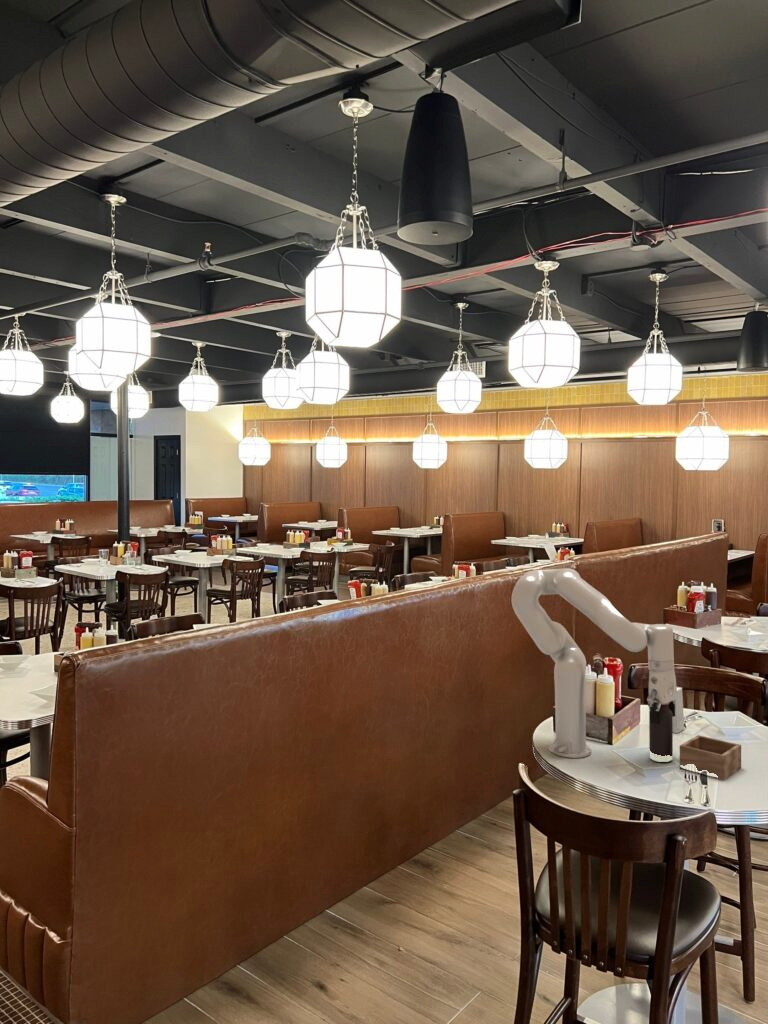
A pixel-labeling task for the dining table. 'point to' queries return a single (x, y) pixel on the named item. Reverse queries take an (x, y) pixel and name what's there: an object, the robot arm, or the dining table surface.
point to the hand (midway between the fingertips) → (662, 719)
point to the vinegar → (662, 733)
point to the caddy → (711, 756)
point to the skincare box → (678, 712)
